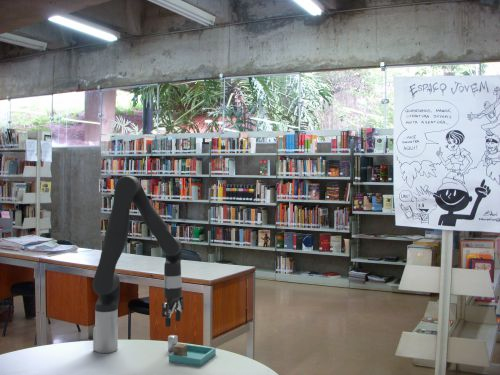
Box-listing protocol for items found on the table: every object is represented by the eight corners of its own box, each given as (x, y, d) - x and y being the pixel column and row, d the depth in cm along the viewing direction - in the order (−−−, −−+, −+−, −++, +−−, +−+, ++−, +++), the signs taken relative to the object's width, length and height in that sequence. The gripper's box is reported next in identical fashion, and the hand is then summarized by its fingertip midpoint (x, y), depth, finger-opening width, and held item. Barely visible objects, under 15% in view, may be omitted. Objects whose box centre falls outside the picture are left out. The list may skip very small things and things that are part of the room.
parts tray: (168, 361, 201) (168, 354, 201) (185, 350, 214) (185, 344, 214) (200, 366, 196) (200, 359, 196) (215, 354, 209) (215, 348, 209)
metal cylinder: (166, 351, 213) (166, 337, 212) (170, 348, 216) (171, 334, 216) (174, 352, 211) (174, 338, 211) (179, 349, 215) (179, 335, 215)
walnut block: (173, 358, 202) (173, 346, 202) (178, 355, 206) (178, 343, 206) (182, 360, 201) (182, 347, 201) (187, 356, 204) (187, 344, 204)
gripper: (173, 281, 221) (173, 318, 221) (156, 288, 208) (156, 327, 208) (188, 283, 219) (189, 320, 219) (172, 289, 205) (172, 329, 205)
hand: (173, 323), depth 213 cm, fingers open, 8 cm apart
